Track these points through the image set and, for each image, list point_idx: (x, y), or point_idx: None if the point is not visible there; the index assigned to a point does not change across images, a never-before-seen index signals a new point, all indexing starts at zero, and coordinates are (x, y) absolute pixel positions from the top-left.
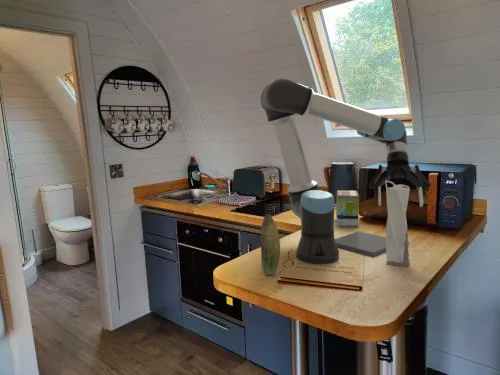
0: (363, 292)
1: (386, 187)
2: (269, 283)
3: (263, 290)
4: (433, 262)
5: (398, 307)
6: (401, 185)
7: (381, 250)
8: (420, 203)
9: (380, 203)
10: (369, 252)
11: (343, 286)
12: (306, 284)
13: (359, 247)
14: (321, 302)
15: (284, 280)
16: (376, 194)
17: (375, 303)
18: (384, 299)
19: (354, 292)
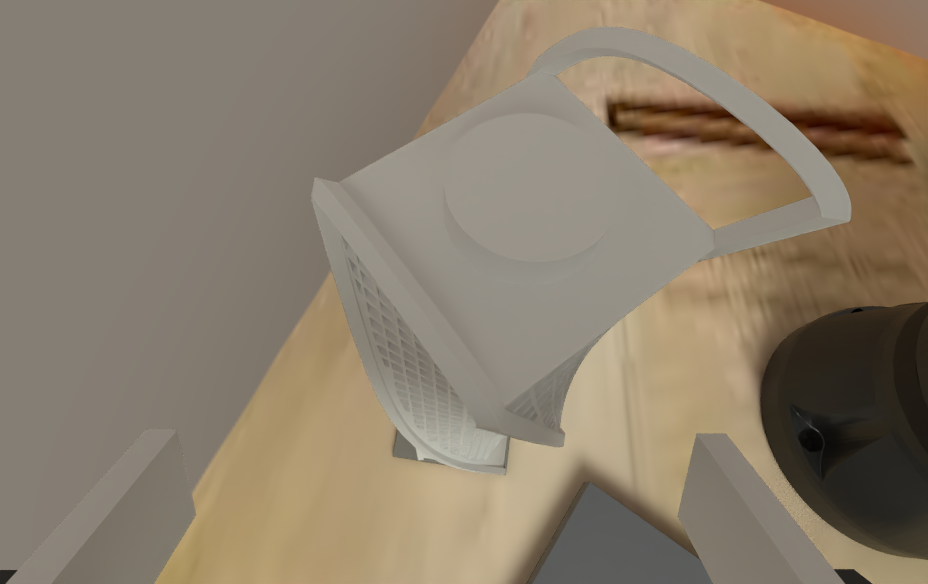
0: (599, 92)
1: (731, 229)
2: (917, 110)
3: (904, 64)
4: (273, 439)
5: (497, 25)
6: (456, 197)
7: (542, 562)
8: (176, 484)
9: (694, 468)
10: (613, 499)
11: (669, 122)
12: (795, 119)
13: (685, 581)
14: (708, 23)
15: (882, 138)
16: (843, 574)
17: (560, 36)
18: (534, 60)
19: (627, 88)
